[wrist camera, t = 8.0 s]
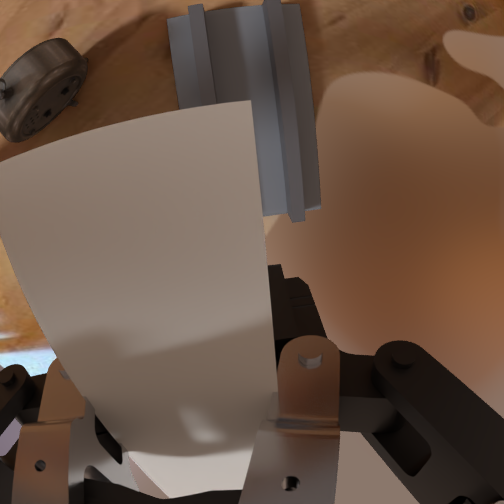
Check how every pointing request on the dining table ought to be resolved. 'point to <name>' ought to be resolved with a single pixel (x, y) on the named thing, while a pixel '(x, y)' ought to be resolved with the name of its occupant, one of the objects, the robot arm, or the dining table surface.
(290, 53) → the door track
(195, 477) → the white rectangular block
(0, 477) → the robot arm
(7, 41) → the dining table surface
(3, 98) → the alarm clock
